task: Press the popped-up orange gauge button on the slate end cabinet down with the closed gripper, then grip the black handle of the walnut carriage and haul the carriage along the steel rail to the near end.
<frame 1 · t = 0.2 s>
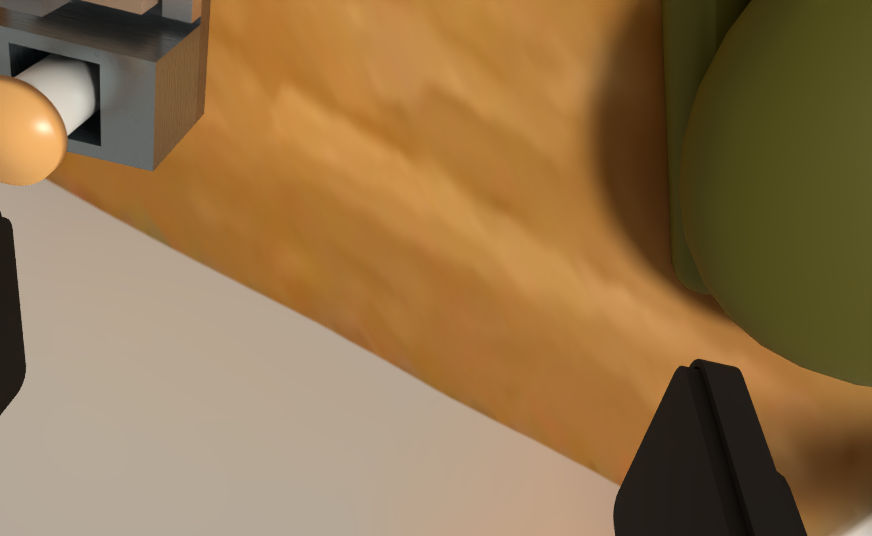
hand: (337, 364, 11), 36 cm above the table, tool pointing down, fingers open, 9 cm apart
gauge button: (46, 103, 40), point 9 cm above the table, slide at 3.0 cm
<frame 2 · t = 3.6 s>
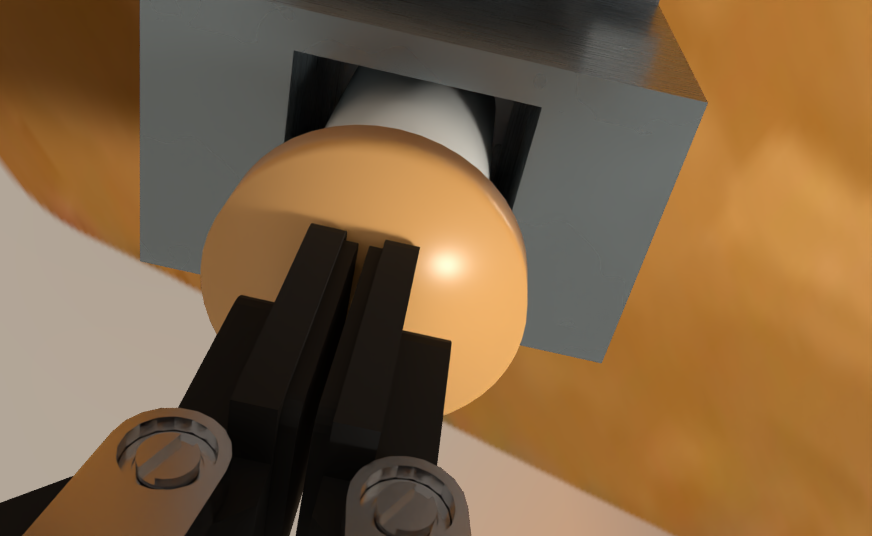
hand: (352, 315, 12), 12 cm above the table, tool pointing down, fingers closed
gauge button: (397, 185, 16), point 8 cm above the table, slide at 1.8 cm, touching gripper
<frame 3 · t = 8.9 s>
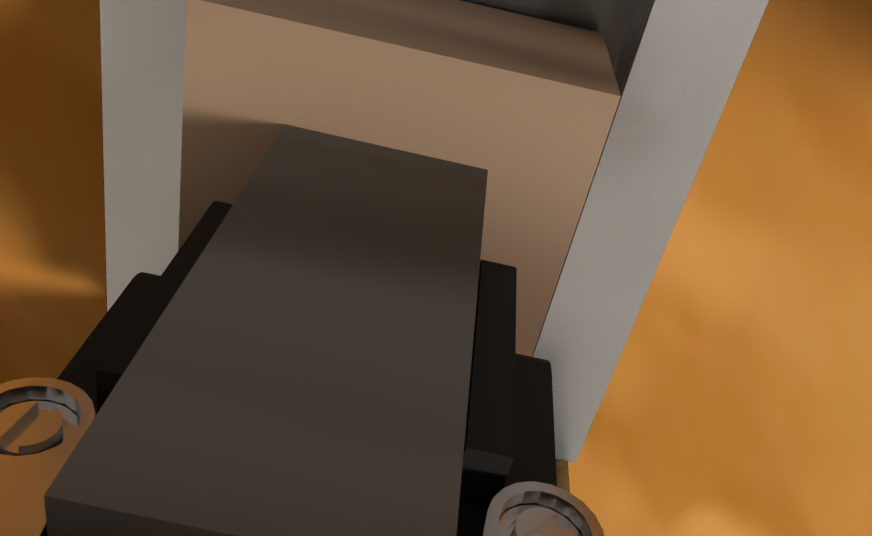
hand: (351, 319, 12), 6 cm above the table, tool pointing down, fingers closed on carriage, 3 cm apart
carriage: (337, 364, 11), point 7 cm above the table, slide at 12.0 cm, touching gripper
rail base: (426, 22, 16), on the table
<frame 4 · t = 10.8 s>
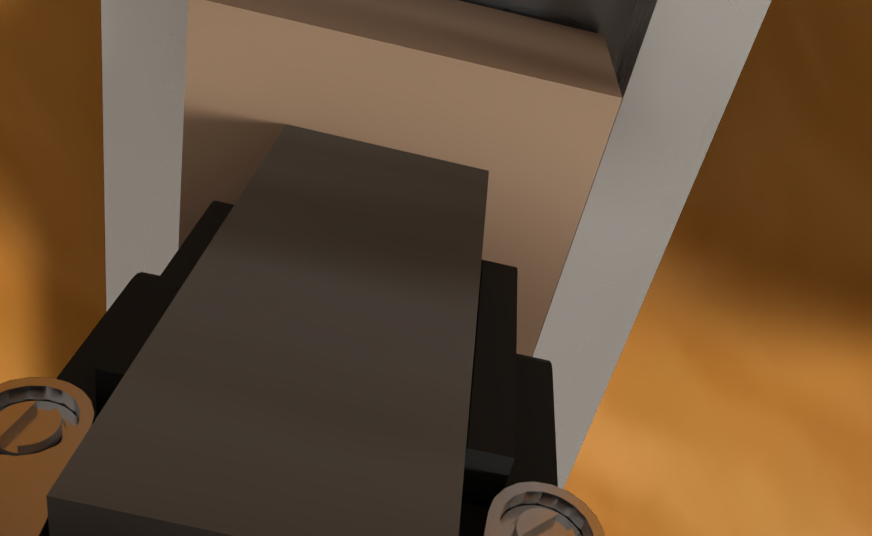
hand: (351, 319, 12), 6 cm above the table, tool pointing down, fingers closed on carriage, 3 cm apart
carriage: (337, 364, 11), point 7 cm above the table, slide at 5.9 cm, touching gripper
rail base: (375, 280, 19), on the table
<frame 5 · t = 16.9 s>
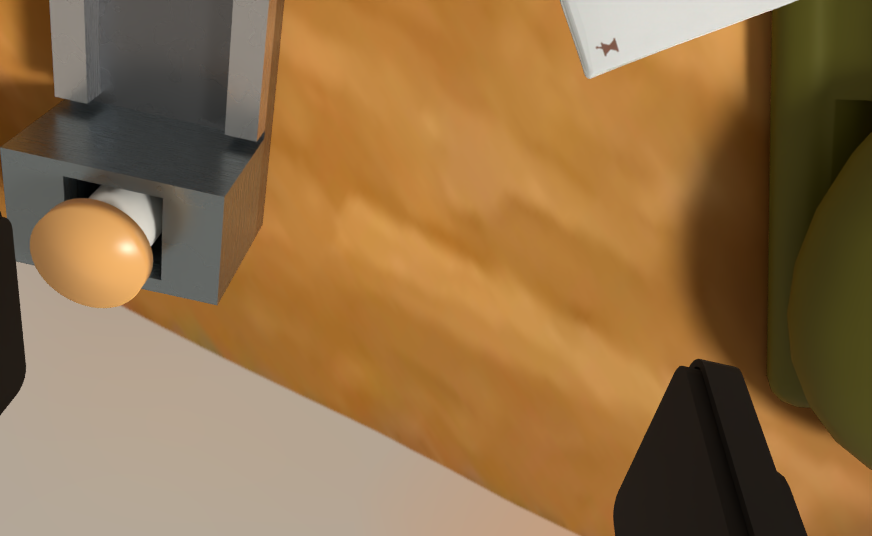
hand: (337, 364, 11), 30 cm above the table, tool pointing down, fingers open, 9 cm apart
gauge button: (125, 216, 38), point 7 cm above the table, slide at 0.7 cm
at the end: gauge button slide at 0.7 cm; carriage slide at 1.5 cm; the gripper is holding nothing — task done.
